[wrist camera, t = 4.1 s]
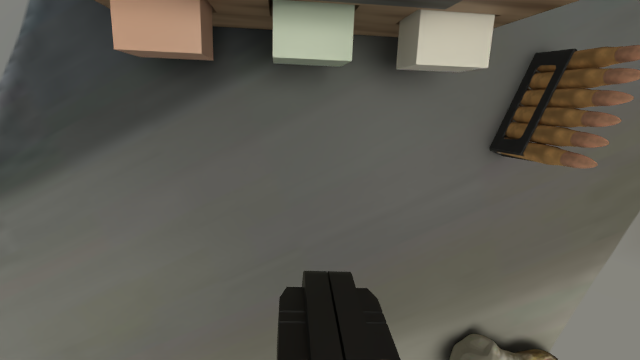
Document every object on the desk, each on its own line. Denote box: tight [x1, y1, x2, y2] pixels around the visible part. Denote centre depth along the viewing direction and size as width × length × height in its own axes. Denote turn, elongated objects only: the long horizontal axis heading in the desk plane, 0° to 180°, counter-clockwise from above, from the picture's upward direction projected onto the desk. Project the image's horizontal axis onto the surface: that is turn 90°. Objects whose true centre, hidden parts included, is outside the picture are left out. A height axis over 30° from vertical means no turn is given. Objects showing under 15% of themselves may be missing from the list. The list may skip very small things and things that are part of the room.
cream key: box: [396, 9, 495, 72], centre depth 27 cm, size 6×5×4 cm
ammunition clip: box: [490, 45, 640, 168], centre depth 32 cm, size 11×2×12 cm, turn 158°
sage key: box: [273, 0, 355, 67], centre depth 26 cm, size 6×5×4 cm
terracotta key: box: [110, 0, 213, 61], centre depth 25 cm, size 6×5×4 cm
